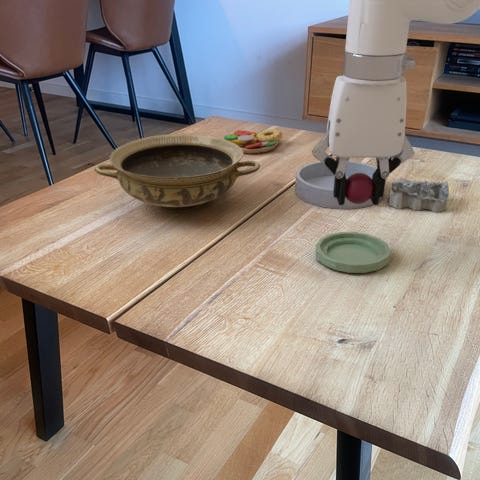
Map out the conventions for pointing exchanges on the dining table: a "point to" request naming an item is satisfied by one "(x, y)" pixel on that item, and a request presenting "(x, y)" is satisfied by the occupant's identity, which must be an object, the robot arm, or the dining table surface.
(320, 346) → the dining table surface
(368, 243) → the saucer
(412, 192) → the egg carton
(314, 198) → the dish
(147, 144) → the ceramic bowl
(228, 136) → the toy food set
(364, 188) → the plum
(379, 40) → the robot arm
